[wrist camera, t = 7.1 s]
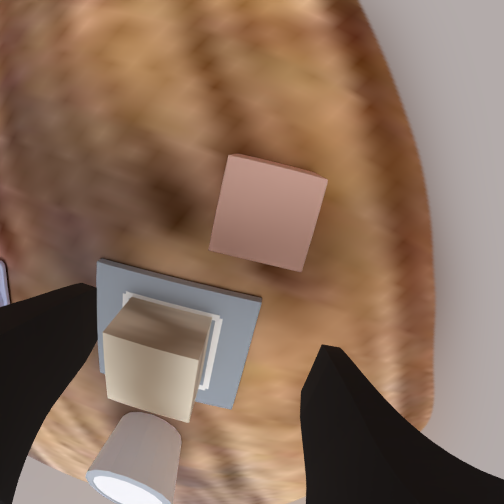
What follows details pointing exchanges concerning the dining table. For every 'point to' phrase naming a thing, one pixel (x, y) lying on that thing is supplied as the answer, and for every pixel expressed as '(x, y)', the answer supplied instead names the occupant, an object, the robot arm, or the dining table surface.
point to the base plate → (191, 300)
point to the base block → (155, 357)
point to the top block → (267, 211)
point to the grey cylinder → (138, 461)
